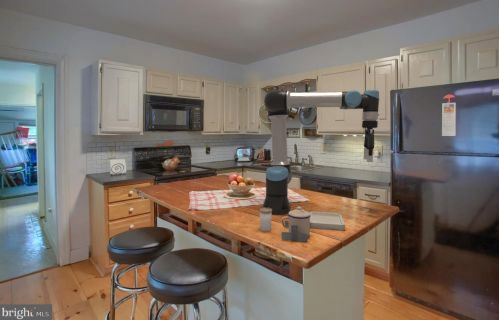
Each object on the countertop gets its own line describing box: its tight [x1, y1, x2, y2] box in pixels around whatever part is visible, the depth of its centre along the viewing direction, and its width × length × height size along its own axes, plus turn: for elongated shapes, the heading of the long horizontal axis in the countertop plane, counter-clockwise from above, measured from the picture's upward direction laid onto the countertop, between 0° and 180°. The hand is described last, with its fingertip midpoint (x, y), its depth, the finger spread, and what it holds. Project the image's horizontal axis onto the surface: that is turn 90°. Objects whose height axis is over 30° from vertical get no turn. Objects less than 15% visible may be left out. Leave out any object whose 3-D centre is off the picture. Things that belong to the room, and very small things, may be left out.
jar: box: [259, 207, 273, 232], centre depth 121 cm, size 5×5×9 cm
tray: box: [309, 210, 346, 232], centre depth 130 cm, size 15×18×2 cm
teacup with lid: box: [280, 206, 311, 238], centre depth 115 cm, size 12×9×12 cm
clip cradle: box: [280, 220, 309, 243], centre depth 115 cm, size 10×15×6 cm, turn 167°
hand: (367, 160), depth 148 cm, fingers open, 13 cm apart
